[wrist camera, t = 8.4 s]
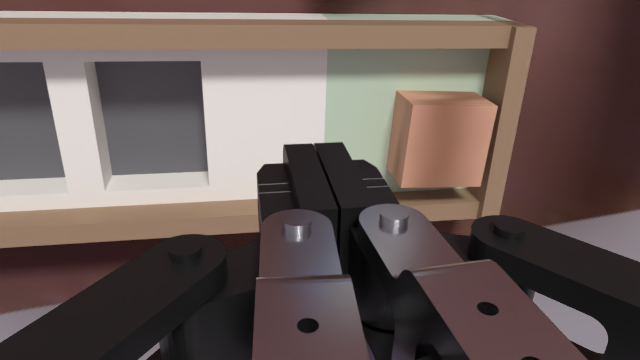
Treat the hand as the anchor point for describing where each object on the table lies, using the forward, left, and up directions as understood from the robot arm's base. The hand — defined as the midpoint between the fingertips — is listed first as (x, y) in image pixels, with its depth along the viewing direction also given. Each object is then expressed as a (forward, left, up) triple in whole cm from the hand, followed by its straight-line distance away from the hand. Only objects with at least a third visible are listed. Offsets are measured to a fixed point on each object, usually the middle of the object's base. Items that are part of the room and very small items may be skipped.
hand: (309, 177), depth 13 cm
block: (-10, +5, -17) cm, 20 cm away
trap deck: (+1, +4, -19) cm, 20 cm away
